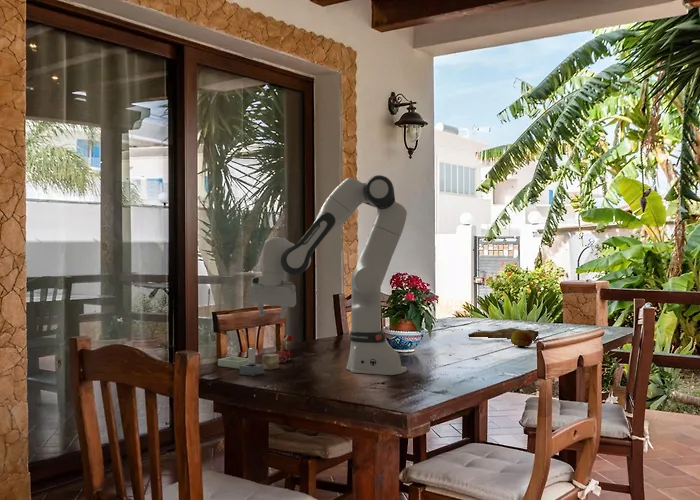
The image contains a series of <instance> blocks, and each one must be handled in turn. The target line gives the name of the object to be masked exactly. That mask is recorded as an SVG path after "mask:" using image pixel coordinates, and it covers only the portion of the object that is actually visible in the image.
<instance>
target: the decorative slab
mask: <svg viewBox="0 0 700 500" xmlns="http://www.w3.org/2000/svg"><path fill="white" fill-rule="evenodd" d="M516 330H521V331H528V332H530V334H531V336H532V340H533V341H534V340H535V339H536V337H537V336H538V337H539V331H538V330H533V329H521V328H520V329H519V328H515V327H508V328H506V329H505V328H502V329H496V330H492V331H491V330H482V331H481V330H480V331H478V332H477V331H474V332H471V333H468V336H469V337H488V338H507V339H511V336H512V334H513V332H514V331H516Z"/></svg>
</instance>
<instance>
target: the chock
mask: <svg viewBox="0 0 700 500" xmlns="http://www.w3.org/2000/svg"><path fill="white" fill-rule="evenodd" d="M261 365H264V370H269V371H271V370H275V369H279V366H280V363H279V354H277V353H266V354H263V355H262V356H261Z"/></svg>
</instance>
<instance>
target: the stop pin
mask: <svg viewBox="0 0 700 500" xmlns="http://www.w3.org/2000/svg"><path fill="white" fill-rule="evenodd" d="M247 358H248V366H255V364H256V347H249V348H248V355H247Z"/></svg>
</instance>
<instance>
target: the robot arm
mask: <svg viewBox="0 0 700 500" xmlns="http://www.w3.org/2000/svg"><path fill="white" fill-rule="evenodd" d="M362 204H365V205H368V206H370V207H372V208H373V207H374V208H376V210H377V213H376V217H375V219H374V223H373V225H372V226H371V228H370V231H369V234H368V236H367V239H366V241H365V244H364V246H363V249H362V251H361V253H360V256H359V258H358V261H357V263H356V266H355V269H354V270H353V271H352V274H351V303H350V304H351V316H350V317H351V318H350V325H351V326H350V327H351V328H350V331H349V345H350V346H349V347H350V348H349V355H348V361H347V365H346V367H345V368H346V369H347V371H350V372H351V373H354V374H355V373H357V374H368V375H370V374H371V375H385V376H395V375H396V376H397V375H401V374H404V373H406V372H408V368H407V367H406V366H402V362H401V356H400V354H399V353H398V351H396V350H395V349H394V348H393V347H392V346H391V345H389V344H388V343H387V342H386V338H387V337H388V336H387V335H388V334H387V333H384V332H382V328H381V327H382V303H381V302H382V295H381V293H382V292H381V287H382V284H383V281H384V279H385V277H386V274H387V271H388V269H389V266H390V263H391V260H392V258H393V256H394V253H395V250H396V248H397V246H398V244H399V241H400V238H401V236H402V234H403V232H404V228H405V224H406V220H407V216H408V215H407V214H408V213H407V209H406V207H404V206H403V205H402V204H400V203H398V202H397V201H396V197H395V188H394V184H393V182H392V180H390V179H389V178H388V177H387V176H384V175H381V174H379V175H374V176H371V177H370V178H369V179H367V181H366V182H361V181H360V180H359V179H357V178H354V177H347V178H345V179H344V180H343V181H342V182H340V183H339V185H337V186H336V187H335V188H334V189H333V191H331V193H330V194H329V196H328V197H326V199H325V200H324V203H323V204H322V206H321V207H320V209H319V211H318V214H317V215H316V218H315V219H314V222H313V223H312V225H310V227H309V229H308V230H307V231H306V232H305V234H304V235H303V236H302V237H301V238H300V240H298V242H297V243H295V244H294V243H293V242H291V241H289V240H288V239H286V237H284V236H279V237H270V238H268V239H266V240H265V241H264V244H263V249H262V258H261V259H262V269H261V274H260V275H257V276H255V277H252V278H251V279H250V283H251V285H250V287H249V295H248V298H249V302H250V304H256V306H257V310H258V311H259V313H258V315H259V317H265V316H266V310H265V311H264V306H265V305H267V306H276V307H280V309H281V312H280V313H278V319H282V320H284V319H285V317H286V313H287V311H288V308H294V307H295V306H297V293H296V285H295V283H293V281H287V280H286V273H287V274H289V275H292V276H297V275H301V274H302V273H304V272H305V271H307V269H308V268H309V267H310V266H311V263H312V254H313V253H314V251H315V250H316V249H317V247H319V245H320V243H321V242H323V240H324V239H325V237H327V236H328V235H329V234H330V233H332V232H333V231H335V230H337V229H338V228H340V227H342V226H343V224H344V223H346V222H347V221H349V219H350V217H352V215H353V214H354V213H355V211H356V210H357V208H358V207H360V206H361V205H362Z"/></svg>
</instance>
